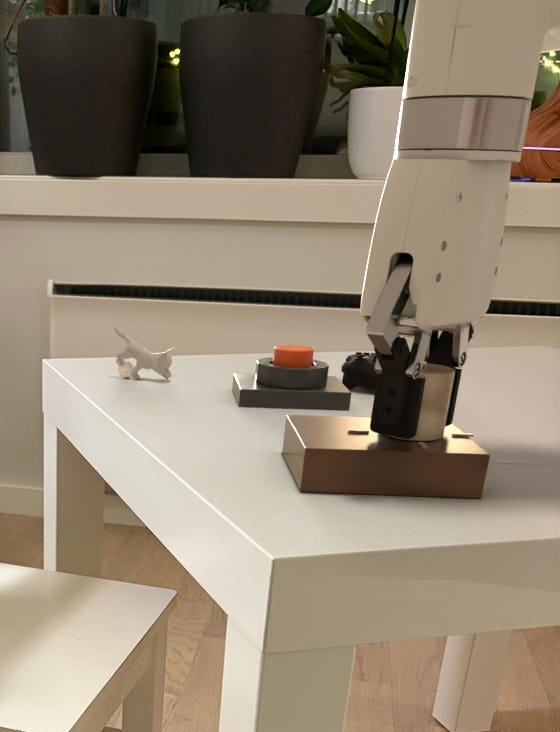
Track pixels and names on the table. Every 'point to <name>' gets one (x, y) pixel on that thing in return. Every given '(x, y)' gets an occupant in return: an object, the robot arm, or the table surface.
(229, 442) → the table surface
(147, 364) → the beige animal figurine
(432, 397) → the dial
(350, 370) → the game controller
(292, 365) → the button
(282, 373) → the button block
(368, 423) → the panel
